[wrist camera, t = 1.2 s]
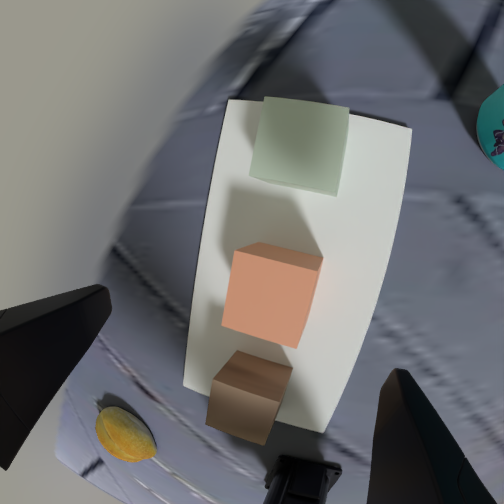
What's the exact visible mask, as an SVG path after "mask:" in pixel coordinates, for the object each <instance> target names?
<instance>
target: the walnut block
mask: <svg viewBox="0 0 504 504" xmlns="http://www.w3.org/2000/svg"><path fill="white" fill-rule="evenodd" d="M292 370H293V368H292V367H289V366H286V365H282V364H279V363H276V362H272V361H269V360H266V359H263V358H259V357H256V356H253V355H250V354H247V353H244V352H241V351H238V350H237V351H236V352H235V353H234V354H233V355H232V357H231V358H230V359H229V360H228V361H227V363H226V364H225V365H224V366H223V367H222V368H221V370H220V371H219V372H218V373H217V374H216V375H215V377H214V378H213V379H212V385H211V391H210V397H209V404H208V410H207V417H206V423H205V424H206V425H208V426H211V427H213V428H215V429H218V430H220V431H223V432H226V433H228V434H231V435H234V436H236V437H239V438H242V439H245V440H248V441H251V442H254V443H257V444H260V445H263V446H264V445H265V443H266V440H267V438H268V436H269V433H270V431H271V429H272V426H273V424H274V422H275V419H276V417H277V414H278V412H279V409H280V406H281V403H282V400H283V398H284V395H285V392H286V389H287V386H288V383H289V379H290V376H291V373H292Z"/></svg>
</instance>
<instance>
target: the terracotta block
mask: <svg viewBox="0 0 504 504" xmlns="http://www.w3.org/2000/svg"><path fill="white" fill-rule="evenodd" d="M322 263H323V258H322V257H318V256H314V255H310V254H306V253H302V252H298V251H294V250H290V249H286V248H282V247H278V246H274V245H269V244H265V243H261V242H257V243H254V244H251V245H248V246H245V247H242V248H240V249H237V250H234V256H233V261H232V267H231V273H230V278H229V284H228V290H227V295H226V301H225V307H224V313H223V318H222V324H221V326H224V327H227V328H230V329H233V330H236V331H239V332H242V333H245V334H248V335H251V336H254V337H258V338H261V339H264V340H267V341H271V342H274V343H277V344H281V345H284V346H288V347H291V348H295V349H297V347H298V344H299V341H300V339H301V336H302V333H303V331H304V328H305V326H306V323H307V320H308V316H309V313H310V309H311V305H312V302H313V298H314V294H315V290H316V287H317V283H318V279H319V275H320V271H321V267H322Z"/></svg>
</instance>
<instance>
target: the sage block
mask: <svg viewBox="0 0 504 504" xmlns="http://www.w3.org/2000/svg"><path fill="white" fill-rule="evenodd" d="M348 131H349V108H347V107H341V106H336V105H330V104H324V103H317V102H310V101H303V100H295V99H287V98H277V97H266V96H265V97H264V101H263V106H262V111H261V116H260V121H259V126H258V131H257V136H256V141H255V146H254V151H253V156H252V161H251V166H250V171H249V176H251V177H254V178H256V179H259V180H262V181H264V182H267V183H270V184H275V185H280V186H285V187H291V188H296V189H301V190H305V191H310V192H315V193H320V194H324V195H329V196H333V197H337V194H338V189H339V184H340V178H341V173H342V168H343V162H344V156H345V150H346V144H347V138H348Z"/></svg>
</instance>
